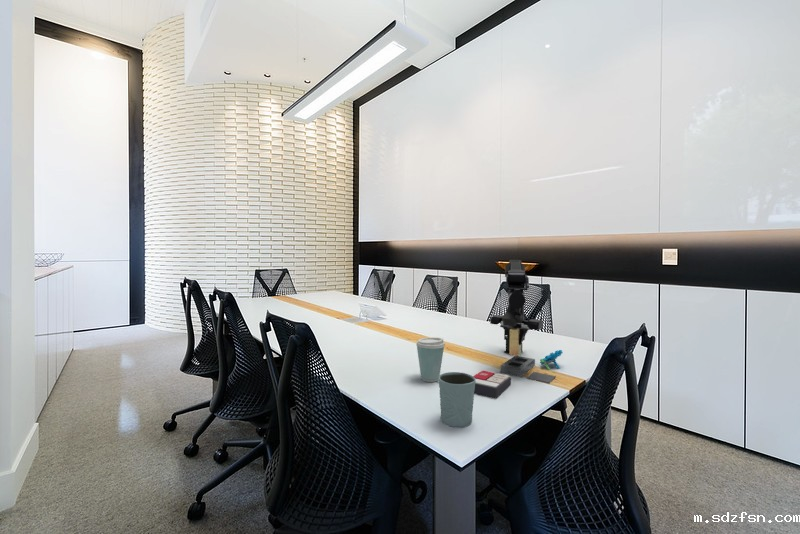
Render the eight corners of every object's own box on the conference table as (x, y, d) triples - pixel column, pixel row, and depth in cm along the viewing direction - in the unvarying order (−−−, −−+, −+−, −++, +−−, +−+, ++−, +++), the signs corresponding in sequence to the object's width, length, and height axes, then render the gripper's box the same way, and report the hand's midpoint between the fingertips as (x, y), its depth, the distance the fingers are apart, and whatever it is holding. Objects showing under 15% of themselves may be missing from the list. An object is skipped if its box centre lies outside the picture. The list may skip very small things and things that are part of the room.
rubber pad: (526, 378, 131) (526, 377, 131) (533, 372, 137) (533, 371, 137) (549, 383, 126) (549, 382, 126) (555, 377, 132) (555, 376, 132)
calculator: (511, 375, 125) (496, 386, 113) (511, 387, 125) (496, 399, 113) (481, 369, 132) (464, 379, 119) (481, 380, 132) (464, 391, 119)
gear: (552, 357, 151) (565, 346, 143) (561, 370, 147) (574, 358, 140) (532, 364, 146) (544, 352, 139) (541, 377, 143) (553, 366, 136)
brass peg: (509, 354, 137) (509, 329, 137) (512, 352, 140) (512, 327, 140) (518, 356, 135) (518, 330, 135) (521, 354, 138) (521, 328, 138)
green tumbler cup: (434, 424, 96) (434, 381, 96) (443, 409, 106) (443, 369, 105) (471, 431, 93) (472, 386, 92) (477, 414, 102) (478, 373, 102)
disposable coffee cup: (412, 382, 127) (412, 340, 127) (420, 372, 138) (420, 334, 137) (440, 386, 124) (441, 343, 123) (447, 375, 134) (447, 336, 133)
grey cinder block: (500, 372, 137) (500, 365, 137) (515, 362, 150) (515, 355, 149) (521, 377, 132) (521, 369, 132) (534, 366, 145) (534, 359, 145)
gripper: (484, 304, 136) (484, 344, 137) (534, 309, 125) (533, 353, 125) (496, 301, 145) (495, 338, 146) (543, 305, 134) (542, 346, 134)
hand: (515, 344), depth 137 cm, fingers closed on brass peg, 3 cm apart
